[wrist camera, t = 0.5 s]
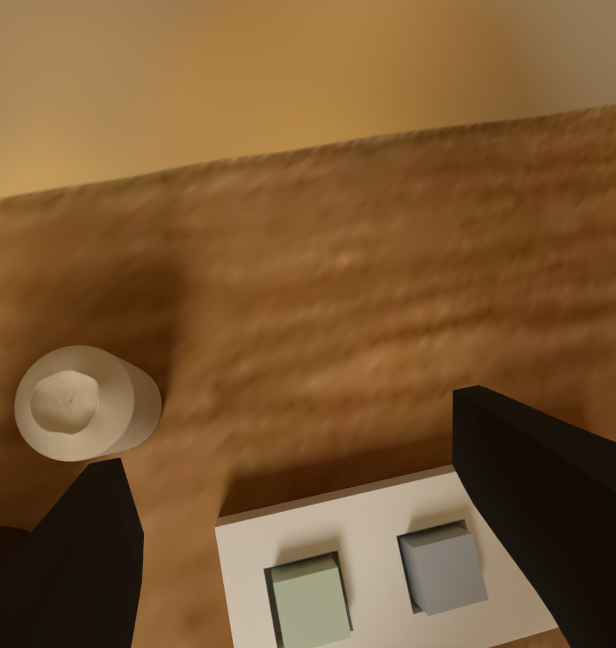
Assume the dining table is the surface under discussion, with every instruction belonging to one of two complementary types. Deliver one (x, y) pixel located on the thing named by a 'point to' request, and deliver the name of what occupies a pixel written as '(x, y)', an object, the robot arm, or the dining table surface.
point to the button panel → (374, 566)
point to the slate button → (443, 569)
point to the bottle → (10, 541)
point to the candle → (85, 404)
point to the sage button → (310, 603)
